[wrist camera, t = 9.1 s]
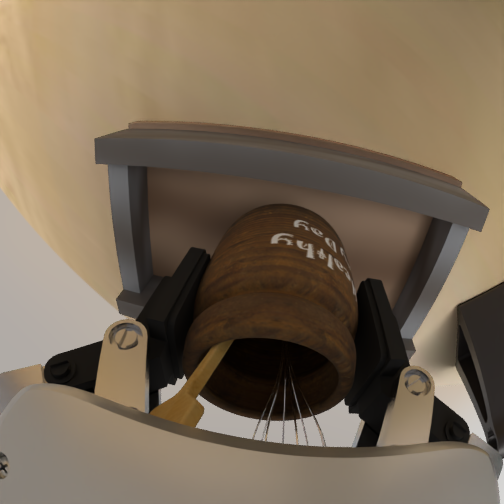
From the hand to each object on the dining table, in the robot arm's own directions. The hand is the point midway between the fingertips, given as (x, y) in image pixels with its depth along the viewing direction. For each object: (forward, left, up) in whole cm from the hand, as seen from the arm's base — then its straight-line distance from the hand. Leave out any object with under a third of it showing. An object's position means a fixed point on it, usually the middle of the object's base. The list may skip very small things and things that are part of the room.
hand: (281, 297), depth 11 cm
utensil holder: (0, 0, -3) cm, 3 cm away
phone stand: (+5, +19, -6) cm, 21 cm away
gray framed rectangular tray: (0, 0, -6) cm, 6 cm away
